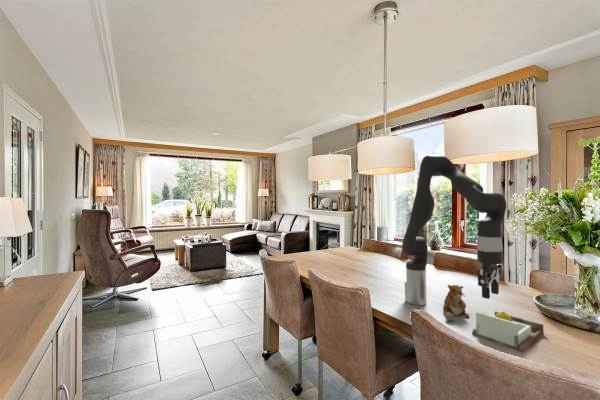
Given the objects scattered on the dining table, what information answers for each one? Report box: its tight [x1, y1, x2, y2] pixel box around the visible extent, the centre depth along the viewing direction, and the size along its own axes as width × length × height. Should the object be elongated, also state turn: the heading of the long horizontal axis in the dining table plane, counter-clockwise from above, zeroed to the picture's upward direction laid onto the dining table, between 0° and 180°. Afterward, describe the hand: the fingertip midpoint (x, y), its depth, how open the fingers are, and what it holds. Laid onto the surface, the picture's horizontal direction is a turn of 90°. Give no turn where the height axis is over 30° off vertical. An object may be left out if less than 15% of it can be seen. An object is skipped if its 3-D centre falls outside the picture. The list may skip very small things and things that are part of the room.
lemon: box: [495, 311, 512, 322], centre depth 105 cm, size 6×6×8 cm
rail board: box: [471, 311, 545, 353], centre depth 107 cm, size 16×21×4 cm
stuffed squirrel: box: [442, 284, 470, 319], centre depth 129 cm, size 10×14×13 cm
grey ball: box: [444, 313, 455, 322], centre depth 120 cm, size 4×4×4 cm
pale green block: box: [475, 311, 531, 348], centre depth 105 cm, size 13×13×8 cm
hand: (490, 295), depth 99 cm, fingers open, 7 cm apart
